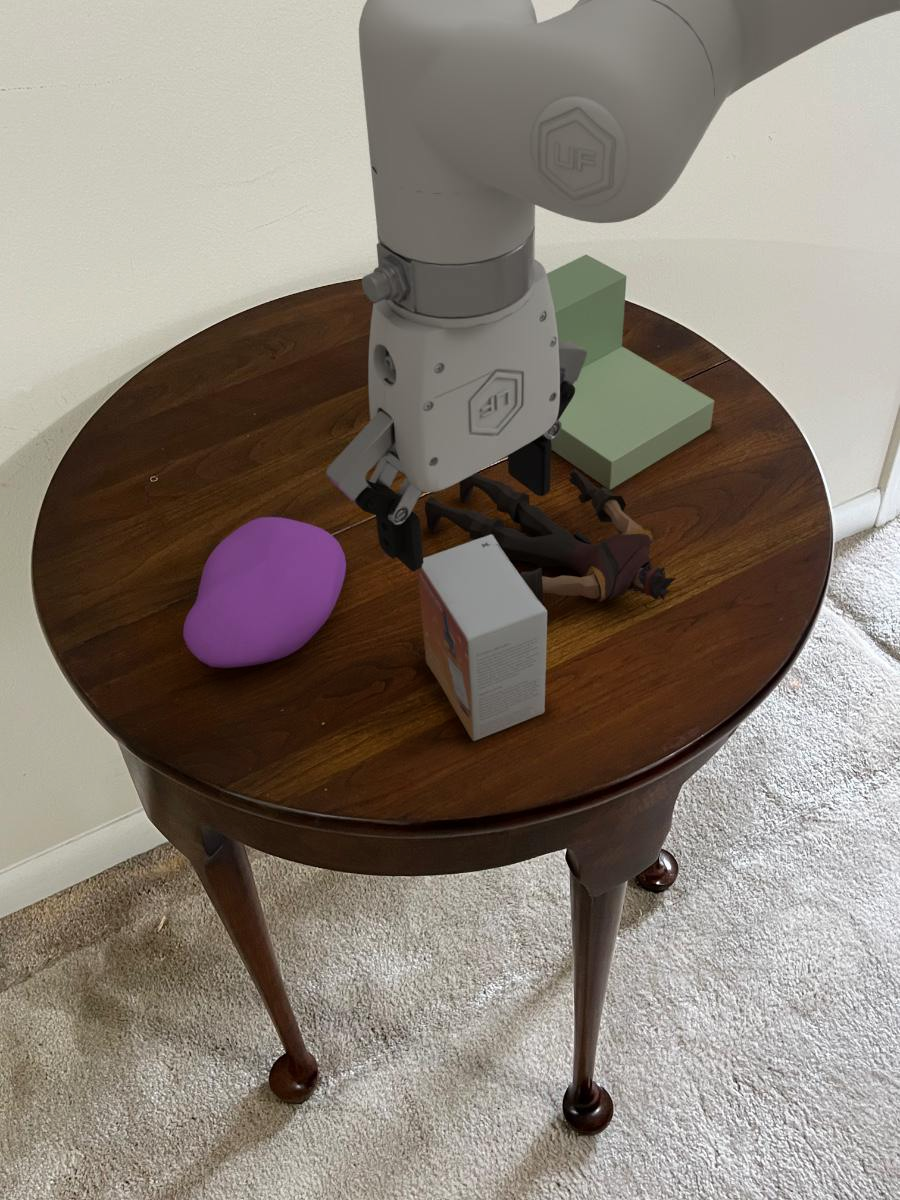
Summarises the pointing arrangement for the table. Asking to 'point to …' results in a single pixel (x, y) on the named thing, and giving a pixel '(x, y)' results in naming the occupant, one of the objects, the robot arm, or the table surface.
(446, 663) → the small box
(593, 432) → the green l-shaped step
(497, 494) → the figurine
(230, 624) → the blob
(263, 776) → the table surface
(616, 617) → the table surface
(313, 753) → the table surface
